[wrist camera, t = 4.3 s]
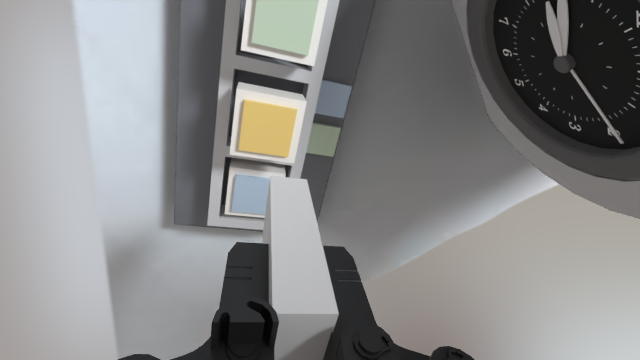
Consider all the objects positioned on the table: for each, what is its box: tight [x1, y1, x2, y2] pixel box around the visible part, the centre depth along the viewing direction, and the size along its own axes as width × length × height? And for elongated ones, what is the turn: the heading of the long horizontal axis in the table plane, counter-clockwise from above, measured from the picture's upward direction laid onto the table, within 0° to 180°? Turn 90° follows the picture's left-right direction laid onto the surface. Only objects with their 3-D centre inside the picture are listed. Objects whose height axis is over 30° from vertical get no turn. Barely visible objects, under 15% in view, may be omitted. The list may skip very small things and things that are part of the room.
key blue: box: [225, 158, 286, 218], centre depth 24 cm, size 4×4×2 cm
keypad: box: [174, 0, 375, 231], centre depth 23 cm, size 22×12×4 cm, turn 166°
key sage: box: [241, 0, 328, 66], centre depth 17 cm, size 4×4×2 cm
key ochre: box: [229, 82, 307, 163], centre depth 19 cm, size 4×4×2 cm
